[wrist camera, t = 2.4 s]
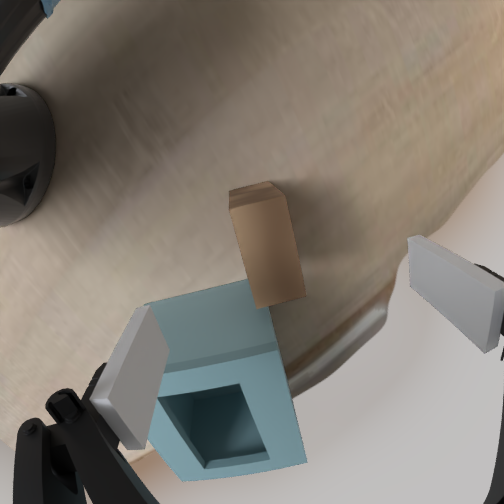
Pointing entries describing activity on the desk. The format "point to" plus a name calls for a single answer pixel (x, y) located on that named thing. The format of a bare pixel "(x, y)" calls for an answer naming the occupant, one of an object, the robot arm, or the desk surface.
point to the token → (267, 243)
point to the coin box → (222, 388)
